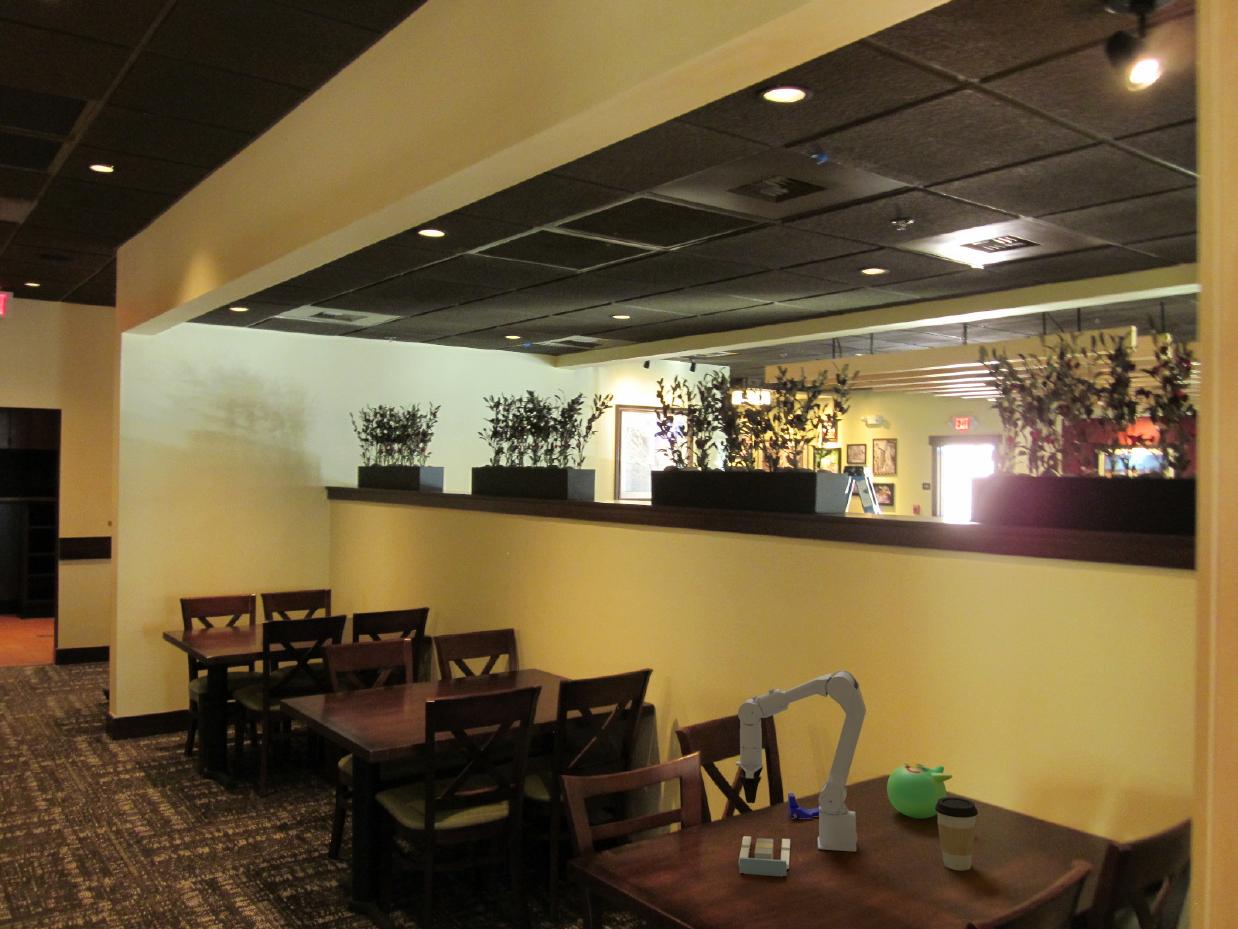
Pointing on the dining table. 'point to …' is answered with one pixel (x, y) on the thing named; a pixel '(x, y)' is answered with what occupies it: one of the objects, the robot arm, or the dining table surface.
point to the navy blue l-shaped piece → (800, 809)
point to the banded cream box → (764, 848)
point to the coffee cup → (956, 831)
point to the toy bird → (917, 789)
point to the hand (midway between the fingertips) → (751, 798)
